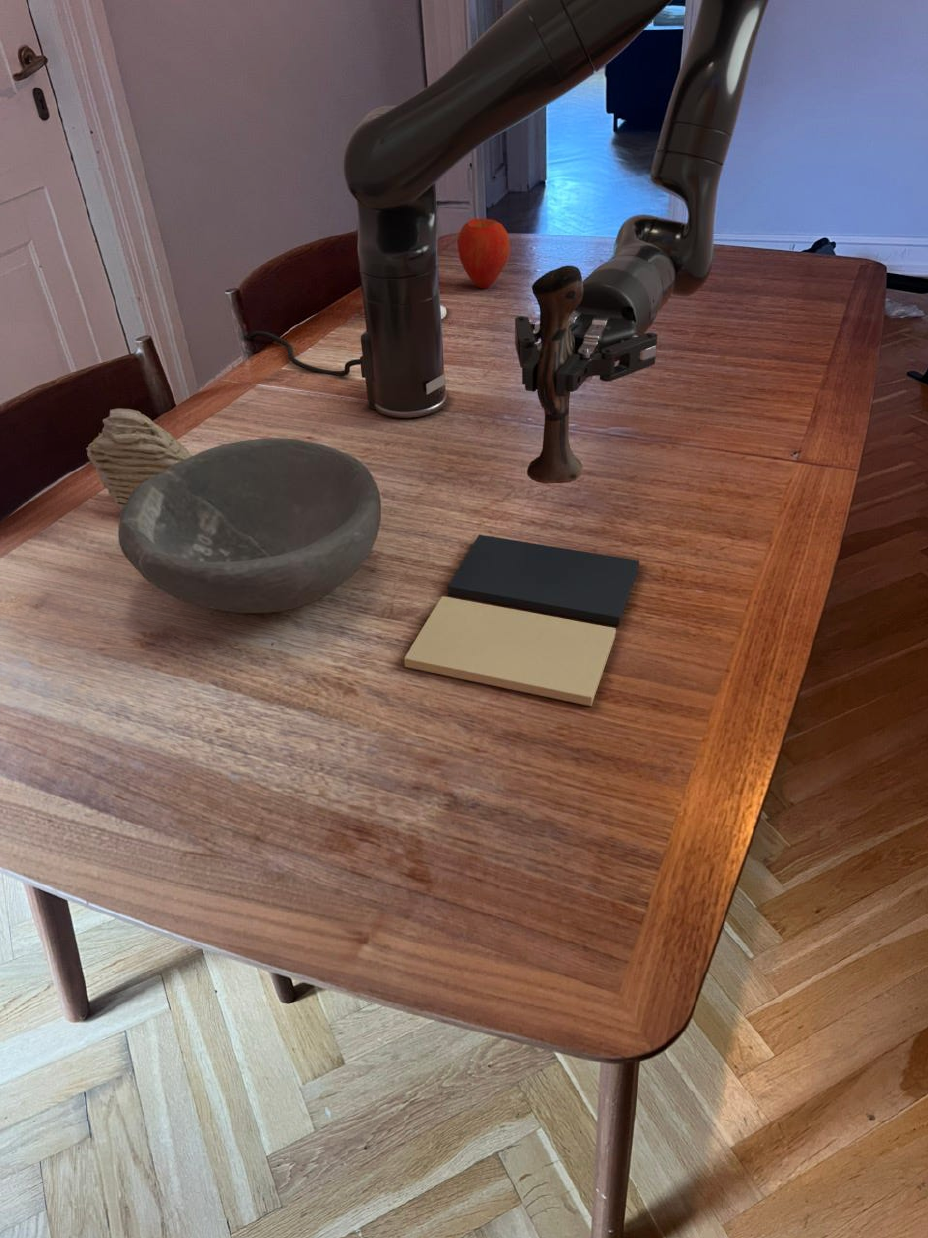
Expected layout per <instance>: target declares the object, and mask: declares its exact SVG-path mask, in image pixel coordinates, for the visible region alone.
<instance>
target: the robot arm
mask: <svg viewBox="0 0 928 1238" xmlns="http://www.w3.org/2000/svg"><path fill="white" fill-rule="evenodd" d="M672 1H673V0H519V2H518V3H516V4H514V6H513V7H511V8H510V9H509V10H508V11H507V12H506V13H504V14H503V15H502V16H501V17H500V18H499V19H498V20H496V22H495V23H493V24H492V25H491V26H490V27H489V28H488V29H487V30H486V31H485V32H484V33H483V34H482V35H481V36H480V37H479V38H478V39H477V40H476V41H475V42H474V43H473V44H472V45H471V46H470V48H468V49H467V50H466V52H465V53H463V55H461V57H460V58H458V60H457V61H456V62H455V63H454V64H453V65H452V66H451V67H450V68H449V69H448V70H447V71H445V73H443V74H442V75H441V76H440V77H439V78H437V79H436V80H435V81H433V82H432V83H431V84H429V85H428V86H426V87H425V88H424V89H422V90H420V91H418V92H417V93H415V94H414V95H413V96H411V97H409V98H408V99H406V100H404V101H403V102H401V103H400V104H399V103H398V105H383V106H379V107H377V108H375V109H373V110H371V111H369V112H368V113H367V114H365V115H364V116H363V117H362V118H361V120H360V121H359V122H358V123H357V125H356V126H355V127H354V129H353V130H352V132H351V133H350V135H349V136H348V139H347V142H346V144H345V147H344V151H343V157H342V158H343V159H342V169H343V177H344V182H345V185H346V187H347V189H348V191H349V193H350V194H351V196H352V197H353V198H354V199H355V200H356V207H357V222H358V223H357V226H358V227H357V229H358V230H357V231H358V232H357V259H358V267H359V268H358V269H359V276H360V284H361V285H360V286H361V294H362V302H363V312H364V322H365V329H366V330H365V331H364V332H363V333H362V334H361V336H360V344H361V345H360V347H361V355H360V357H359V358H356V359H351V360H348V361H347V362H346V363H345V364H344V369H343V370H329V369H323V368H319V367H315V366H312V365H309V364H307V363H304V362H302V361H299V360H298V359H296V358H295V355H294V351H293V350H294V349H293V347H292V345H291V344H290V343H289V342H288V341H287V340H285V339H283V338H281V337H279V336H277V335H275V334H273V333H270V332H268V331H263V330H256V331H255V330H254V331H252V332H251V333H250V334H249V335H248V336H247V339H246V340H247V341H248V340H249V341H252V340H253V339H254V338H256V337H265V338H268V339H270V340H271V341H275V342H276V343H279V344H280V345H282V346H283V347H285V348H286V350H287V357H288V359H289V361H290V362H291V363H292V364H293V365H294V366H296V367H298V368H301V369H302V370H306V371H309V372H311V373H316V374H319V375H328V376H335V377H345V376H348V375H349V374H350V371H351V367H354V366H359V365H360V373H361V378H363V379H364V380H365V381H364V382H365V388H366V396H367V397H366V398H367V406H368V409H372V410H376V411H377V412H378V413H379V414H382V415H384V416H388V417H391V418H399V419H412V418H420V417H425V416H428V415H431V414H434V413H436V412H438V411H440V410H441V409H442V408H444V407H445V405H446V403H447V391H446V384H447V383H446V373H445V363H444V362H445V361H444V360H445V359H444V343H443V328H442V319H441V308H440V305H441V293H440V276H439V275H440V274H439V258H438V257H439V256H438V239H439V238H438V237H439V236H438V235H439V234H438V232H439V229H438V228H439V226H438V225H439V223H438V205H437V182H438V181H439V180H440V179H441V178H443V176H445V174H447V173H448V172H449V171H450V170H452V169H453V168H454V167H455V166H456V165H457V164H459V163H460V162H461V161H463V159H464V158H466V157H468V155H470V154H471V153H472V152H473V151H475V150H476V149H478V148H479V147H480V146H482V145H483V144H484V143H486V142H488V141H490V140H491V139H493V138H495V137H496V136H499V135H500V134H502V133H504V132H505V131H508V130H509V129H511V128H512V127H514V126H516V125H517V124H520V123H521V122H523V121H525V120H526V119H528V118H530V117H531V116H533V115H534V114H536V113H537V112H539V111H541V110H542V109H544V108H545V107H547V106H549V105H551V103H553V102H555V101H556V100H558V99H560V98H561V97H563V96H564V95H566V94H567V93H569V92H571V91H572V90H573V89H575V88H576V87H578V86H579V85H580V84H582V83H584V82H585V81H586V80H588V79H589V78H590V77H592V76H593V75H595V73H597V72H599V71H601V70H602V69H603V68H604V67H606V66H607V65H608V64H610V63H611V62H612V61H613V60H614V59H616V58H617V57H618V56H619V55H620V54H621V53H622V52H623V51H624V50H625V49H627V47H629V46H630V45H631V43H632V42H634V41H635V39H637V37H638V36H639V35H640V34H641V33H642V32H643V31H644V30H645V29H646V28H647V27H648V26H649V25H650V24H651V23H652V22H653V21H654V20H655V19H656V18H657V17H658V16H659V15H660V14H661V12H662V11H664V10H665V8H667V6H669V4H671V2H672ZM769 1H770V0H701V1H700V6H699V11H698V13H697V17H696V21H695V24H694V27H693V31H692V34H691V37H690V40H689V43H688V46H687V49H686V51H685V55H684V58H683V59H682V62H681V66H680V69H679V71H678V73H677V77H676V80H675V82H674V85H673V89H672V92H671V96H670V99H669V102H668V105H667V109H666V112H665V116H664V119H663V123H662V127H661V130H660V135H659V138H658V142H657V146H656V150H655V152H654V157H653V161H652V165H651V170H650V180H651V183H652V185H653V186H654V187H655V188H657V189H658V190H660V191H662V192H664V193H666V194H669V195H671V196H673V197H675V198H676V199H679V200H680V201H681V202H682V203H684V206H686V210H687V221H686V222H683V221H678V220H673V219H670V218H665V217H659V216H656V215H651V214H637V215H633V216H631V217H629V218H628V219H626V220H625V221H624V222H623V223H622V224H621V226H620V228H619V230H618V232H617V234H616V237H615V240H614V245H613V250H612V256H611V257H610V258H609V259H608V260H607V261H606V262H604V263H602V264H600V265H599V266H597V267H596V268H595V269H594V270H593V271H592V272H591V273H589V274H588V276H587V277H586V278H585V279H583V280H582V283H583V298H582V300H581V302H580V304H579V305H578V306H577V307H576V309H575V310H574V311H573V313H572V314H571V316H570V318H569V320H568V323H567V327H568V328H569V329H570V330H571V332H572V333H573V336H574V340H575V354H572V355H571V356H570V357H569V358H568V360H567V361H566V362H565V363H564V364H563V365H562V366H561V367H560V368H559V369H558V372H557V376H556V395H557V396H563V397H566V396H567V395H568V393H569V392H570V393H575V392H576V391H578V390H579V388H580V387H581V386H582V385H583V384H584V382H590V381H591V380H592V379H593V377H596V376H597V377H599V380H600V381H602V382H606V383H607V382H613V381H615V380H619V379H621V378H623V377H625V376H628V375H630V374H634V373H636V372H639V371H641V370H644V369H646V368H649V367H652V366H654V365H655V364H656V357H657V348H658V337H659V336H658V334H657V333H654V332H647V331H648V330H649V329H650V328H651V327H652V325H653V323H654V321H655V320H656V318H657V316H658V314H659V312H660V311H661V310H662V308H663V307H664V306H665V305H666V303H667V302H668V301H669V300H670V298H671V296H672V295H673V296H676V297H677V296H678V297H690V296H692V295H694V294H695V293H697V292H698V291H699V290H700V289H701V288H703V286H704V285H705V284H706V282H707V280H708V278H709V276H710V274H711V270H712V266H713V259H714V235H715V233H714V232H715V231H714V230H715V229H714V228H715V213H716V212H715V211H716V202H717V197H718V196H717V195H718V191H719V190H718V189H719V185H720V181H721V175H722V172H723V168H724V166H725V163H726V159H727V156H728V152H729V149H730V145H731V142H732V138H733V134H734V131H735V128H736V124H737V121H738V117H739V114H740V109H741V105H742V102H743V97H744V93H745V88H746V84H747V80H748V74H749V70H750V67H751V61H752V57H753V53H754V50H755V49H754V48H755V46H756V41H757V36H758V35H759V31H760V28H761V25H762V21H763V18H764V16H765V13H766V9H767V7H768V4H769ZM514 339H515V340H514V341H515V342H514V343H515V344H514V345H515V350H516V354H517V359H518V363H519V367H520V369H521V383H522V385H524V389H525V391H527V392H533V393H535V392H537V371H538V361H539V356H540V352H541V348H542V343H541V341H540V340H541V339H540V323H536V322H535V321H530V319H529V317H528V316H525V315H520V316H517V317H515V318H514ZM616 362H618V364H616Z"/></svg>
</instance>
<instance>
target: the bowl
mask: <svg viewBox="0 0 928 1238" xmlns="http://www.w3.org/2000/svg"><path fill="white" fill-rule="evenodd" d="M118 517H119V518H118V530H117V531H118V534H117V535H118V544H119V547H120V551H121V552H122V554H123V555H124V556H125V558H126V560H128V562H129V563H130V564H131V565H132V566H133V568H134V569H135V570H136V571H138V573H140V575H142V577H144V579H146V581H147V582H149V583H151V584H152V585H153V586H154V587H156V588H157V589H159V590H161V591H163V592H164V593H165V594H168V595H170V596H172V597H173V598H175V599H177V600H180V601H183V602H185V603H189V604H191V605H192V604H193V605H195V606H199V607H203V608H209V609H215V610H220V611H225V612H231V613H232V612H233V613H242V614H264V613H266V614H267V613H278V612H285V611H288V610H292V609H297V608H300V607H303V606H306V605H309V604H311V603H313V602H315V601H318V600H319V599H321V598H323V597H325V596H327V595H330V594H331V593H333V592H334V591H335V590H337V589H339V587H341V586H343V585H344V584H345V583H346V582H347V581H348V580H349V579H350V578H352V577H353V576H354V575H355V574H356V573H357V572H358V571H359V569H360V568H361V567H362V566H363V565H364V563H365V561H366V560H367V559H368V557H369V555H370V553H371V552H372V550H373V547H374V545H375V542H376V539H377V537H378V533H379V530H380V524H381V520H382V500H381V494H380V490H379V487H378V484H377V481H376V480H375V478H374V477H373V474H372V472H371V471H370V470H369V469H368V468H367V467H366V465H364V464H363V462H361V461H360V460H359V459H357V458H356V457H355V456H353V455H350V454H349V453H347V452H344V451H341V450H339V449H337V448H334V447H332V446H329V445H325V444H323V443H317V442H312V441H306V440H301V439H298V438H283V437H281V438H280V437H278V438H277V437H274V438H273V437H272V438H270V437H269V438H257V439H256V438H254V439H247V440H240V441H235V442H229V443H224V444H221V445H217V446H214V447H210V448H208V449H205V450H202V451H200V452H198V453H196V454H195V455H192V457H190V458H188V459H185V460H182V461H180V462H178V463H176V464H174V465H172V466H171V467H169V468H168V469H167V470H166V471H165V472H162V473H160V474H158V475H155V476H153V477H151V478H149V479H148V480H146V481H144V482H143V483H141V484H140V485H139V486H137V487H136V488H135V489H134V490H133V491H132V493H131V495H130V496H129V498H128V500H127V502H126V504H125V505H124V507H123V509H122V510H121V511H120V513H119V516H118Z"/></svg>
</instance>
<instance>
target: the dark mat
mask: <svg viewBox="0 0 928 1238" xmlns="http://www.w3.org/2000/svg"><path fill="white" fill-rule="evenodd" d="M639 569H640V560H638V559H632V558H626V557H619V556H614V555H607V554H601V553H596V552H595V553H594V552H590V551H589V552H588V551H584V550H583V551H582V550H576V549H571V548H564V547H557V546H553V545H552V546H551V545H545V544H540V543H534V542H527V541H521V540H515V539H509V538H502V537H496V536H490V535H483V534H478V536H477V537H476V539H475V541H474V543H473V544H472V545H471V547H470V548H469V551H468V552H467V554H466V556H465V557H464V559H463V561H462V562H461V564H460V565H459V567H458V569H457V570H456V572H455V573H454V576H453V577H452V578H451V580H450V582H449V584H448V585H447V594H448V595H450V596H454V597H461V598H464V599H470V600H476V601H481V602H482V601H483V602H487V603H492V604H498V605H503V606H507V607H508V606H509V607H514V608H520V609H525V610H531V611H536V612H540V613H547V614H552V615H558V616H562V617H563V616H564V617H567V618H572V619H573V618H574V619H579V620H583V621H584V620H585V621H591V622H595V623H601V624H605V625H611V626H617V627H619V626H620V624H621V621H622V619H623V615H624V613H625V609H626V606H627V604H628V602H629V601H628V600H629V597H630V595H631V592H632V589H633V586H634V583H635V580H636V579H637V578H636V577H637V574H638V571H639Z"/></svg>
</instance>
